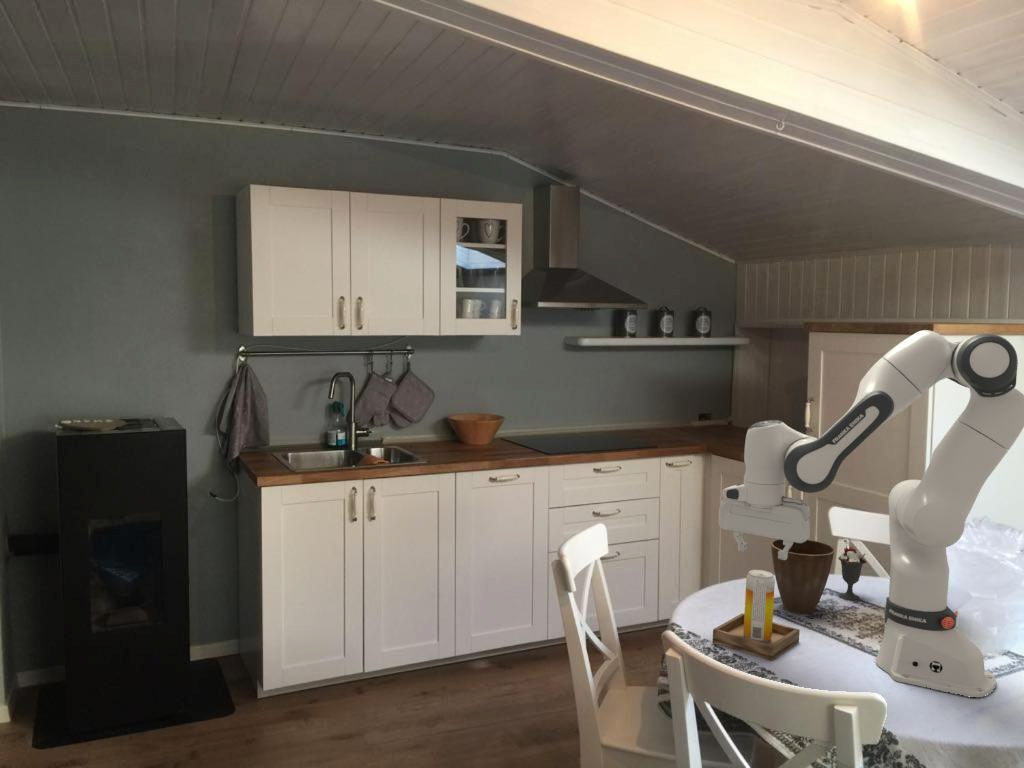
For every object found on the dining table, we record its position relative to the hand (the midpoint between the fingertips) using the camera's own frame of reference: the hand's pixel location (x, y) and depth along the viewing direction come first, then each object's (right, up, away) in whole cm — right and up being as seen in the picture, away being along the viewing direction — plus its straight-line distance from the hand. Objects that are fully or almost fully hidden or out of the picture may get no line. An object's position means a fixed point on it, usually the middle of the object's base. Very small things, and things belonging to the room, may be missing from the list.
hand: (762, 554), depth 192 cm
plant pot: (+16, -18, +24) cm, 35 cm away
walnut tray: (-1, -20, +2) cm, 20 cm away
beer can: (-1, -19, +2) cm, 19 cm away
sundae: (+32, -18, +34) cm, 50 cm away
